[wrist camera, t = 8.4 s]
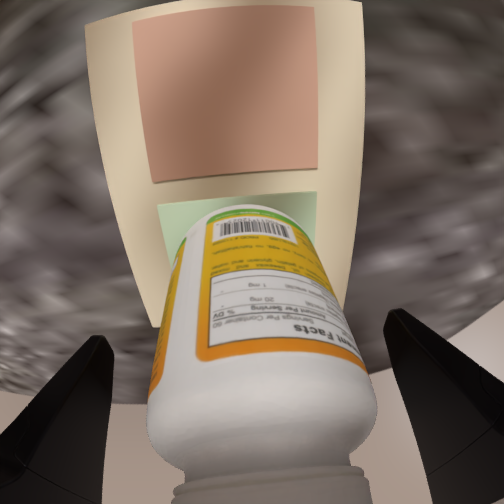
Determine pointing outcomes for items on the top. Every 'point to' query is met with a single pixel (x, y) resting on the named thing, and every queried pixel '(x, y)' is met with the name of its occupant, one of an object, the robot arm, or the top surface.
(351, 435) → the supplement bottle
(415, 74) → the top surface
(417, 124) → the top surface
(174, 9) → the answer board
